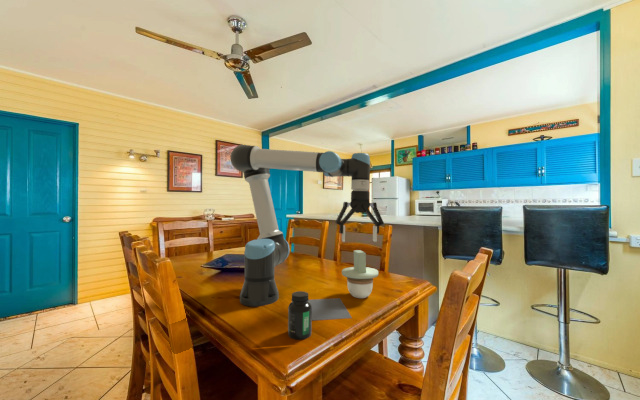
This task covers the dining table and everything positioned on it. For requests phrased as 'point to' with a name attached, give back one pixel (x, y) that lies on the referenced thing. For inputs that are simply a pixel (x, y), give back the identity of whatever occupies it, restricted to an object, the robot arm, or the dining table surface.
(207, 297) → the dining table surface
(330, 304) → the mat
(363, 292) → the lidded jar
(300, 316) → the supplement bottle
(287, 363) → the dining table surface
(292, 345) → the dining table surface
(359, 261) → the lid
